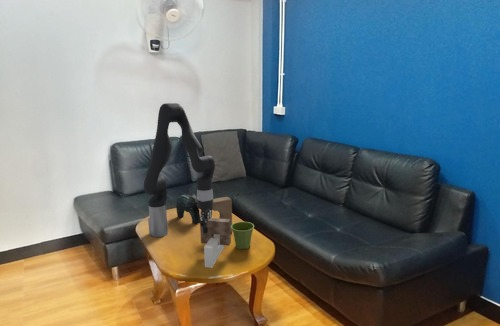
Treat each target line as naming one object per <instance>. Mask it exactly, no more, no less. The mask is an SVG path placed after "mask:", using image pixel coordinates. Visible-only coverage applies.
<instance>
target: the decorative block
mask: <svg viewBox="0 0 500 326" xmlns="http://www.w3.org/2000/svg"><path fill="white" fill-rule="evenodd" d="M213 211H214V212H218V213H219V219H230V231H231V234H232V233H233V231H232V228H231V225H232V224H233V200H232V199H231V197H229V196H223V197H216V198H213V207H212V212H213ZM212 237H214V234H212Z"/></svg>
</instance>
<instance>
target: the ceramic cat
mask: <svg viewBox="0 0 500 326" xmlns="http://www.w3.org/2000/svg"><path fill="white" fill-rule="evenodd" d="M187 192H190V195H189V194H187V193H185V192H181V193H179V195H178V197H177V200H176V206H175V208H176V215H177V218H179V219H182V218H184V217H185V216H184V215H185V212H186V213H189V215H190V217H191V222H192V224H195V225H197V224H200V222H199V217H201V215H200V209H199V208H198V207H197V194H196V195H195V193H192V190H191V189H188V190H187ZM181 194H182V195H181Z"/></svg>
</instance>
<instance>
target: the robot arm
mask: <svg viewBox="0 0 500 326" xmlns="http://www.w3.org/2000/svg"><path fill="white" fill-rule="evenodd" d="M171 123H177V125H178V126H179V127H180V129H181V130H180V131H181V142H182V145H183V147H184V149H185V150H186V152H187V155H189V156H188V157H189V159H190V164H191V166H192V169H193V170H194V171H195V172H196V173H198V174H200V176H198V177H197V178H196V195H197V207H198V208H199V210H200V212H199V214H200V217H199V222H200V223H199V226H201V227H203V233H205V234H207V232H208V231H207V222H208V219H209V218H213V217H212V216H213V210H212V207H213V199H214V192H213V177H214V172H215V169H216V168H215V167H216V162H215V159H214V157H213V156H211V155H204V156H200V155H201V154H202V152H204V151H203V150H204V148H203V146H202V145H201V143H200V141H199V140H198V138H197V136H196V135H195V132H194V131H193V128H192V126H191V124H190V122H189V118H188V116H187V113H186V112H185V109H184V107H183V106H182V105H181V104H180V103H178V102H177V103H176V102H174V103H172V102H169V103H168V102H167V103H162V104H161V105H160V108H159V109H158V116H157V125H156V126H157V127H156V132H155V138H154V142H153V146H152V151H151V158H150V161H149V165H148V168H147V172H146V175H145V178H144V180H143V181H144V182H143V190H144V192H145V193H146V195H148V196H149V195H150V196H151V197H150V198H149V199H148V203H147V204H148V214H149V217H148V219H147V222H148V234H149V236H151V237H154V238H160V237H165V236H167V235H168V233H169V230H168V228H169V227H168V226H169V225H168V216H167V215H168V214H167V212H168V211H167V198H168V187H167V185H168V184H167V181H166V178H165V177H164V176H163V175H161V172H162V170H163V169H164V168H165V167H166V165H167V164H168V162H169V160H170V158H171V155H172V150H173V145H172V140H171V138H170V136H169V126H170V124H171ZM201 173H202V174H201ZM205 219H207V220H205Z"/></svg>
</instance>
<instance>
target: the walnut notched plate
mask: <svg viewBox="0 0 500 326" xmlns="http://www.w3.org/2000/svg"><path fill="white" fill-rule="evenodd" d="M205 220H207V219H205ZM199 226H200V225H199ZM207 231H208V232H207V234H205V233H203V227H201V226H200V244H204V245H206V244H207V242H208V241H209V239H210V238H213V235H212V234H218V235H220V245H225V246H228V247H229V246H231V245H230V244H231V243H232V239H231V234H232V233H231V231H230V219H219V218H216V217H212V218H209V219H208V222H207Z"/></svg>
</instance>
